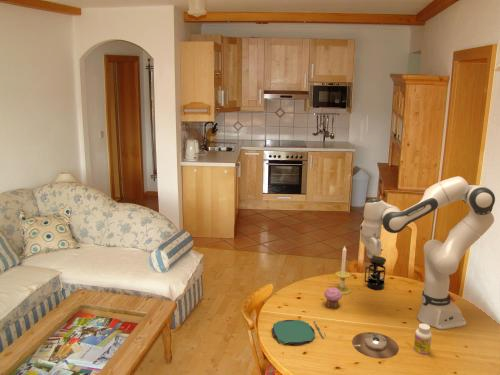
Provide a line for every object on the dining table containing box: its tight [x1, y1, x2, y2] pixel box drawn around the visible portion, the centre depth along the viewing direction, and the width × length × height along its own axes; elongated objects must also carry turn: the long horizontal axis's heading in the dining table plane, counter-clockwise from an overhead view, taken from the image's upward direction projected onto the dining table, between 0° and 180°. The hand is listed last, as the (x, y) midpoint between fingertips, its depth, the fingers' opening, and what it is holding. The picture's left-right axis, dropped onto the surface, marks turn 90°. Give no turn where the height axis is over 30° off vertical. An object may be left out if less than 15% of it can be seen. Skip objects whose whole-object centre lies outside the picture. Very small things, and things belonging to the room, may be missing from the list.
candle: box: [334, 245, 352, 295], centre depth 252 cm, size 10×10×27 cm
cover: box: [365, 333, 387, 351], centre depth 201 cm, size 9×9×3 cm
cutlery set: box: [271, 319, 327, 345], centre depth 213 cm, size 20×30×2 cm, turn 100°
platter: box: [351, 331, 400, 360], centre depth 202 cm, size 20×20×1 cm
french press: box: [364, 248, 387, 291], centre depth 257 cm, size 12×9×23 cm
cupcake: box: [324, 286, 343, 309], centre depth 237 cm, size 9×9×10 cm
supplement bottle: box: [413, 323, 433, 356], centre depth 197 cm, size 7×7×13 cm
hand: (369, 257), depth 227 cm, fingers closed
